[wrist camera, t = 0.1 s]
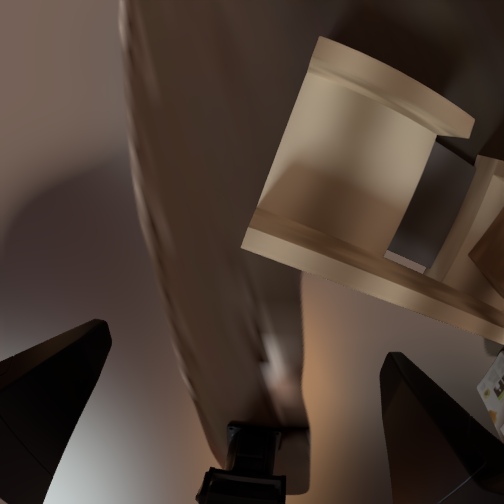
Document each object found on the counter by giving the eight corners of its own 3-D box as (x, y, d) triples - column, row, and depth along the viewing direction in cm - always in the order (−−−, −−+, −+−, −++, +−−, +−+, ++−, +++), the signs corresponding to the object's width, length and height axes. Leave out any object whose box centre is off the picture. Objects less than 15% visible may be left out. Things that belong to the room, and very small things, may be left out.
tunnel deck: (535, 203, 18) (582, 227, 12) (483, 306, 23) (517, 349, 16) (310, 65, 18) (319, 35, 11) (255, 212, 22) (240, 247, 16)
